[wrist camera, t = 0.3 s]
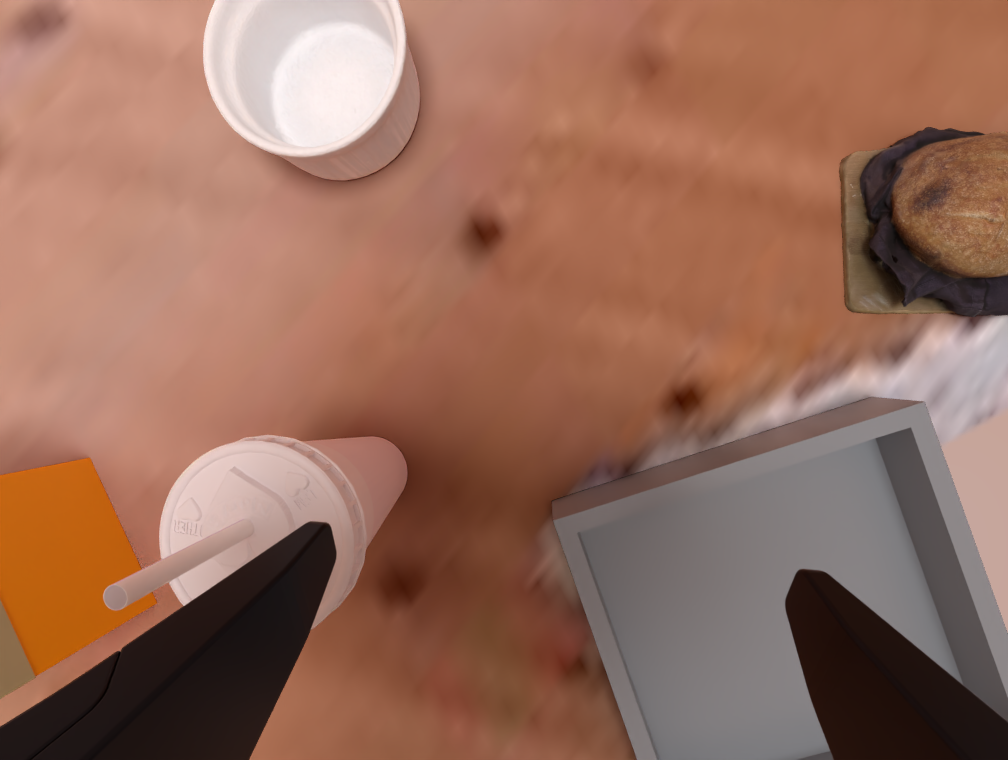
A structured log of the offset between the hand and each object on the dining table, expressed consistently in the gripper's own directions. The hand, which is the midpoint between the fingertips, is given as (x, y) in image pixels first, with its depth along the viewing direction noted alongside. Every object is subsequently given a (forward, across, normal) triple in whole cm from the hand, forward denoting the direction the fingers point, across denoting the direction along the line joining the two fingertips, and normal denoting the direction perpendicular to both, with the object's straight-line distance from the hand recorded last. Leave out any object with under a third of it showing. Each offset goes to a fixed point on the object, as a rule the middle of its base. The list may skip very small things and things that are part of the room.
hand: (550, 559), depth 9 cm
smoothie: (+12, +9, +8) cm, 17 cm away
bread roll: (+18, -18, -4) cm, 26 cm away
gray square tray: (+10, -10, +12) cm, 19 cm away
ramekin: (+20, +11, -9) cm, 24 cm away
